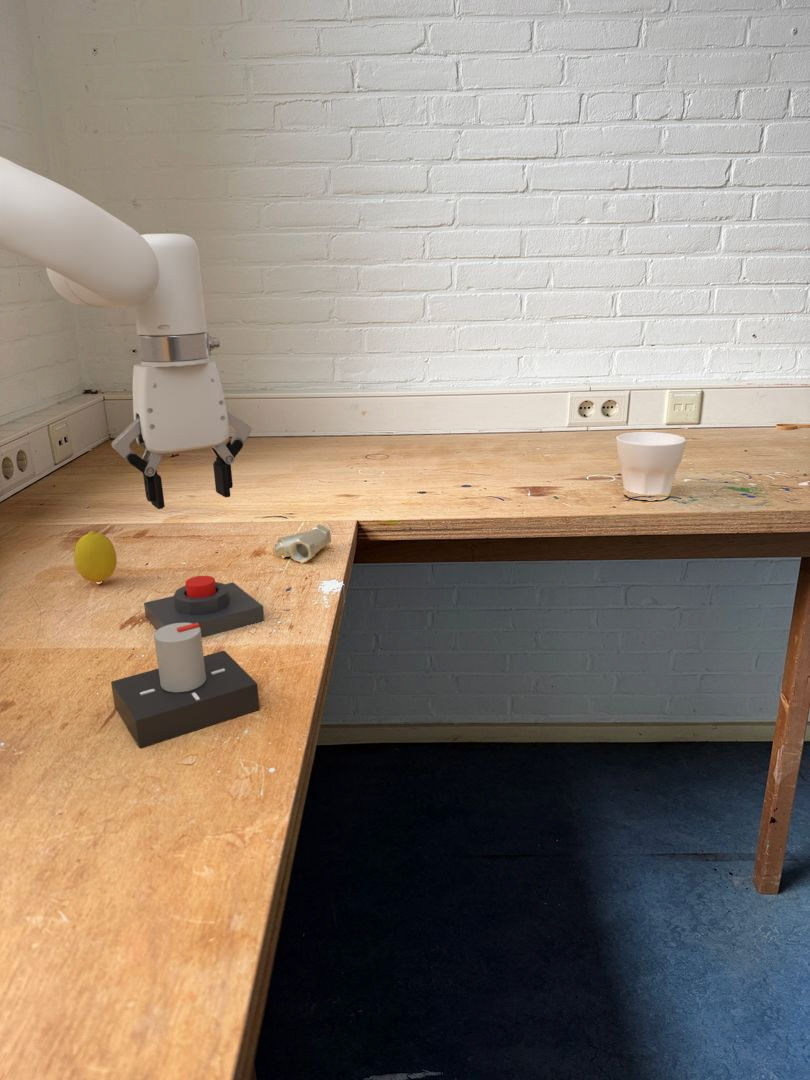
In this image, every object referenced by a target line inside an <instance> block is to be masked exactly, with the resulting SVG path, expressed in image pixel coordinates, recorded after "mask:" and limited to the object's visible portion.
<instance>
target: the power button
mask: <svg viewBox="0 0 810 1080" xmlns="http://www.w3.org/2000/svg"><path fill="white" fill-rule="evenodd" d="M215 582H216V579H215V577H213V576H212V575H211V576H210V575H197V576H193V577H189V578H188V579H186V580H185V585H186V593H187V596H188V597H192V598H203V597H207V596H211V595H213V594H215V593H216V585H215Z"/></svg>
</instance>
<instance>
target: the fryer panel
mask: <svg viewBox="0 0 810 1080" xmlns="http://www.w3.org/2000/svg"><path fill="white" fill-rule="evenodd" d="M204 664H205V673H206V681H205V682H204V684H203V685H201V686H200V687H198V688H196V689H194V690H191V691H186V692H177V693H176V692H168V691H166V690H164V689H163V688H162V687H161V684H160V677H159V669H158V668H155V669H152V670H148V671H144V672H140V673H137V674H134V675H130V676H126V677H123V678H119V679H115V680H112V681H110V684H111V692H112V698H113V703H114V704H113V705H114V708H115V710H116V711H117V713H118V715H119V716H120V718H121V720H122V721H123V723H124V725H125V726H126V728H127V730H128V731H129V733H130V735H131V736H132V738H133V740H134V741H135V743H136V744H137V747H138V748H139V749H142V748H145V747H149V746H151V745H155V744H157V743H160V742H163V741H167V740H170V739H173V738H177V737H179V736H182V735H185V734H188V733H192V732H194V731H195V732H196V731H198V730H201V729H204V728H208V727H210V726H213V725H217V724H219V723H223V722H225V721H229V720H232V719H235V718H238V717H242V716H244V715H247V714H250V713H254V712H256V711H259V710H260V698H259V688H258V687H259V686H258V682H257V681H256V680H254V678H253V677H252V676H251V675H250V674H248V672H246V670H245V669H244V668H243V667H241V665H240V664H239V663H237V661H236V660H235V659H233V657H232V656H231V655H230V654H228V652H226V650H220V651H216V652H213V653H209V654H206V655H204Z"/></svg>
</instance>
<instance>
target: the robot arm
mask: <svg viewBox="0 0 810 1080" xmlns="http://www.w3.org/2000/svg"><path fill="white" fill-rule="evenodd" d="M0 250H4V251H6V252H10V253H12V254H15V255H18V256H21V257H22V258H25V259H28V260H30V261H32V262H34V263H36V264H39V265H41V266H43V267H45V268H46V274H47V277H48V280H49V282H50V284H51V286H52V287H53V289H54V290H55V291H56V292H57V293H58V294H59V295H60V296H61V297H62V298H64V299H65V300H67V301H68V302H70V303H73V304H75V305H78V306H82V307H88V308H117V309H128V308H133V309H134V317H135V324H136V325H135V326H136V332H137V341H138V348H139V356H140V363H136V364H134V365H133V370H132V411H133V413H132V414H133V421H132V422H131V423H130V424H129V425H128V426H127V427H126V428H125V429H124V430H123V431H121V433H120V434H119V435H117V437H115V438H114V439H113V440H112V442H111V448H112V449H114V451H115V452H117V454H119V455H120V456H121V457H122V458H123V459H124V460H125V461H126V463H129V464H130V465H131V466H132V467H134V468H135V469H137V470H138V471H139V472H141V473H142V475H143V484H144V491H145V498H146V501H147V502H149V503H151V505H152V506H153V507H155V508H156V509H157V510H162V509H164V508H165V506H166V505H165V497H164V488H163V482H162V481H163V480H162V476H161V475H160V474H158V468H159V465H160V463H161V461H162V458H163V456H164V454H170V453H171V454H172V453H178V452H179V453H180V452H186V451H193V450H200V449H208V448H209V449H210V450H211V452H212V453H213V455H214V456H215V460H214V461H213V463H212V466H213V475H214V476H213V477H214V486H215V493H217V494H218V495H220V496H221V497H224V498H230V497H231V489H232V488H233V486H234V485H233V475H232V464H233V463H234V462H235V458H236V456H237V455H238V454H239V453H240V452H241V450H242V449H243V447H244V444H245V442H246V441H247V439H248V437H249V435H250V434H251V432H252V427H251V426H250V425H249V424H247V423H246V422H245V421H243V420H241V419H240V418H238V417H236V416H235V415H233V414H232V413H230V412H228V410H227V404H226V403H227V402H226V399H225V393H224V389H223V384H222V382H221V378H220V373H219V370H218V367H217V365H216V361H215V360H214V359H210V357H211V355H212V354H211V353H212V351H214V350H219V349H220V346H221V344H220V338H219V337H218V336H216V337H212V336H210V335H209V334H210V333H209V332H207V331H208V330H207V321H206V312H205V311H206V310H205V302H204V301H205V300H204V292H203V283H202V272H201V262H200V260H201V259H200V254H199V253H200V252H199V247H198V245H197V243H196V241H195V240H194V238H192V237H191V236H189V235H187V234H183V233H182V234H181V233H144V234H141V233H139V232H138V231H136V230H135V229H134V228H133V227H132V226H129V225H128V224H127V223H125V222H124V221H122V220H121V219H120V218H118V217H115V216H114V215H113V214H111V213H109V212H108V211H107V210H106V209H104V208H102V207H100V206H99V205H97V204H96V203H93V202H92V201H91V200H89V199H87V198H85V197H84V196H83V195H81V194H79V193H77V192H75V191H74V190H72V189H69V188H67V187H66V186H64V185H61V184H60V183H58V182H55V181H53V180H52V179H49V178H47V177H45V176H43V175H41V174H38V173H36V172H34V171H32V170H29V169H27V168H25V167H23V166H21V165H19V164H17V163H15V162H13V161H12V160H9V159H7V158H5V157H3V156H1V155H0ZM230 427H231V428H232V429H233V430H234V433H233V436H232V437H231V438H230ZM229 438H230V439H229ZM135 440H136V443H137V445H138V447H140V448H144V449H145V450H144V452H143V455H142V456H141V457H140V456H139V455H138V454H137V453H135V452H134V450H132V448H131V443H133V442H134V441H135ZM225 443H226V444H225Z"/></svg>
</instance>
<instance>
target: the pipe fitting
mask: <svg viewBox="0 0 810 1080" xmlns="http://www.w3.org/2000/svg"><path fill="white" fill-rule="evenodd" d="M331 543H332V533H331V530H330V529H328V528H327V527H325V526H324V525H323V524H317V525H316V526H314V527H313V528H311V529H310V530H307V531H304V532H300V533H294V534H291V535H287V536H282V537H278V539H277V543H275V544H274V546H273V547H272V551H273V553H274V554H276V555H277V556H278V555H279V556H281V555H283V556H284V557H290V556H291V557H290V559H292V560H293V561H294V562H296V561H301V562H305V563H306V562H308V561H309V560H311V559H312V558H314V557H315V556H316V554H317V553H318V552H319V551H321V550H322V549H324V548H326V547H328V546H329V545H330V544H331Z"/></svg>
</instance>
